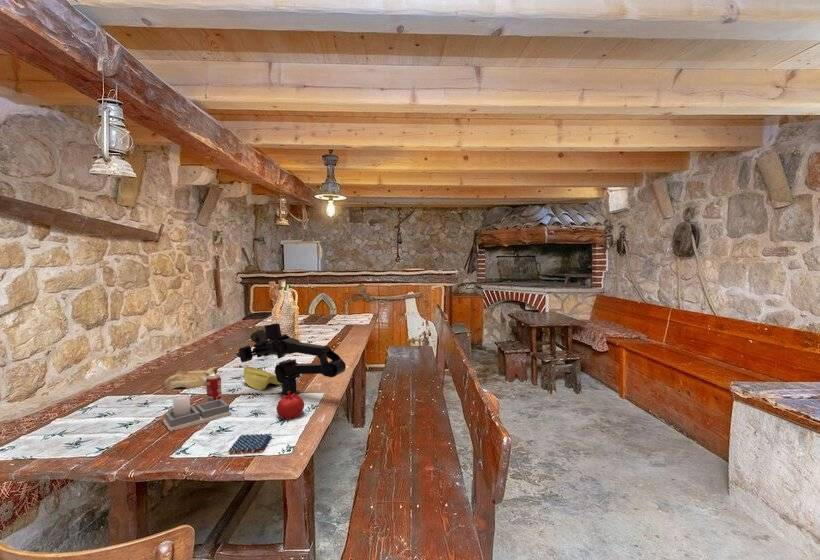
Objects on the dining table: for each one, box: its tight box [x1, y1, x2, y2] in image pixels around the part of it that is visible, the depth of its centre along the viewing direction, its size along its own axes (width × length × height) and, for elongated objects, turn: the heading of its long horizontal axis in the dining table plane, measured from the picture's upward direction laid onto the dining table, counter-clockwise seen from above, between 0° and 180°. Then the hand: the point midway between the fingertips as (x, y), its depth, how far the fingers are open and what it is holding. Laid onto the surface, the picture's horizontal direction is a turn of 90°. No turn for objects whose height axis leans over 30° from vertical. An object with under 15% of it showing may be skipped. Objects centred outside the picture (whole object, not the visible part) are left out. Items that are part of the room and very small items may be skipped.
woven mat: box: [228, 433, 273, 455], centre depth 124 cm, size 10×11×2 cm
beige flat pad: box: [163, 367, 218, 390], centre depth 187 cm, size 24×24×5 cm
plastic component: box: [243, 365, 282, 391], centre depth 183 cm, size 20×7×10 cm
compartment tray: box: [163, 394, 232, 432], centre depth 144 cm, size 20×10×9 cm, turn 133°
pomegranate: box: [276, 391, 305, 420], centre depth 147 cm, size 10×10×9 cm
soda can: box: [205, 373, 223, 402], centre depth 157 cm, size 5×5×12 cm
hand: (244, 352), depth 178 cm, fingers open, 9 cm apart
